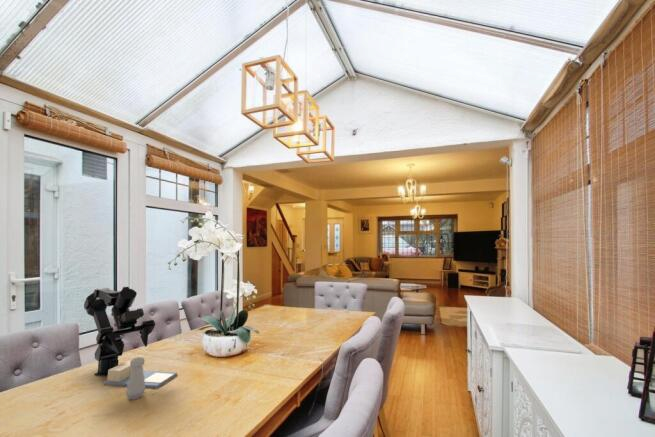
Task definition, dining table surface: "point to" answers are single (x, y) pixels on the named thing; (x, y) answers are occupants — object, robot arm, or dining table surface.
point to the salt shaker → (136, 379)
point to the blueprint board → (151, 378)
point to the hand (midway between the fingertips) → (133, 349)
